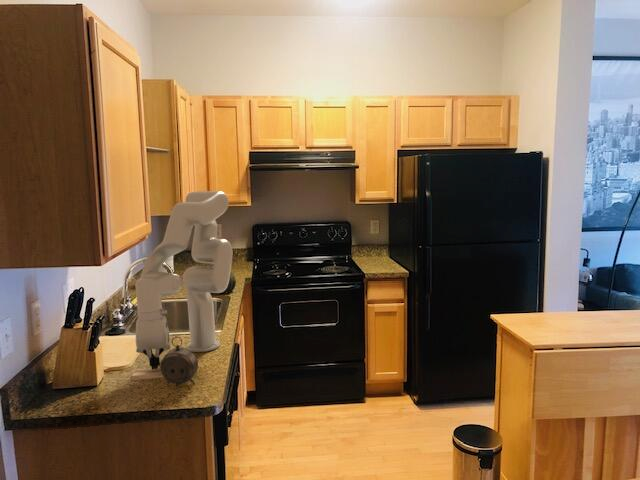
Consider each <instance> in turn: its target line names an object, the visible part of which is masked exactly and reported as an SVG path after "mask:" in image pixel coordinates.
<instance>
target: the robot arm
mask: <svg viewBox="0 0 640 480" xmlns="http://www.w3.org/2000/svg"><path fill="white" fill-rule="evenodd" d="M229 203H230V202H229V197H228V195H227V194H226V193H225V192H224V191H221V190H220V191H219V190H211V191H210V190H207V191H206V190H198V191H191V192H189V193H188V194H187V195H186V197H185V201H184V202H183V201H182V202H178V203H176V204H175V205H174V206H173V208H172V209H171V212H170V216H169V220H168V223H167V226H166V229H165V233H164V236H163V239H162V242H160V243H159V245H157V246H156V247H155V248H154V249H153V251H152V252H150V254H149V255H148V256H147V258H146V259H145V261H144V264H143V266H142V271H141V274H140V278H138V279H137V280H136V281H135V285H134V286H135V294H136V304H137V305H136V306H137V317H138V318H137V319H136V323H135V346H136V347H135V348H136V349H135V350H136V353H138V354H144V355H145V356H146V357H147V358H148V362H149V367H150V368H152V369H157V368H158V367H159V366H160V365H161V364H160V361H161V358H160V355H162V354H163V352H166V351H167V352H168V351H170V350H171V345H170V332H169V326H168V320H167V317H166V316H165V315H167V314H168V310H167V309H164V308H163V303H162V297H166V296H173V295H175V294H177V293H178V292H179V291H180V290H181V289H182V286H183V287H184V291H185V295H186V300H187V313H188V315H187V316H188V326H189V327H188V328H189V340H190V341H189V342H187V344H186V347H185V348H186V349H188V350H190V351H191V352H192V353H204V352H211V351H213V350H216V349H217V348H219V347H220V345H221V341H220V340H219V339H218V338H216V325H215V324H216V323H215V308H214V299H213V297H212V295H211V294H212V293H213V294H220V293H224V291H225V290H226V288H227V286H228V283H229V278H230V272H232V271H231V270H232V263H233V255H234V253H233V247H232V244H231V242H230V241H229V240H227V239H225V238H217V237H218V236H217V235H218V224H217V221H216V219H218V218H220V217H221V216H222V215H223V214H225V212H226V211H227V210H228V208H229V205H230V204H229ZM193 227H194V233H193V239H192V246H191V258H192V260H193V261H194V262H197V263H201V264H213V266H203V265H194V266H191V267H187V268H186V269H185V271H184V272H183V275H182V277H181V276H180V275H179V274H177V273H175V272H174V273H168V272H159V270H160V267H161V266H162V264H163V263H164V262H165V261H166V260H167V259H168V258H169V257H171V256H173V257H174V256H175V255H177V254H179V253H181V252H183V251H185V250H186V249H187V248H189V247H188V246H189V242H190V240H191V235H192V231H193ZM153 350H155V352H154V351H153Z"/></svg>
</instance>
